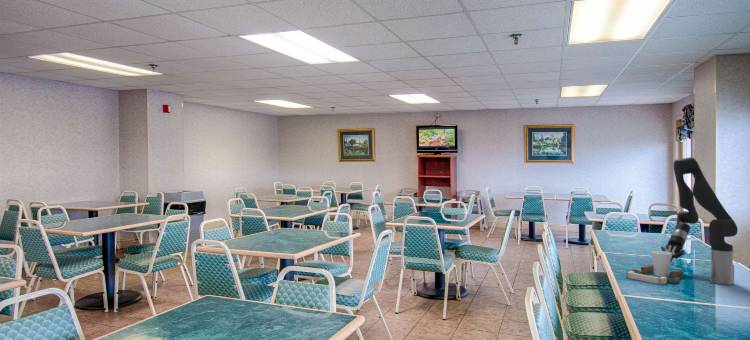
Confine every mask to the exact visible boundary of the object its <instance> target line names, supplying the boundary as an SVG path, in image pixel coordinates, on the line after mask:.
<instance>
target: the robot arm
mask: <svg viewBox="0 0 750 340" xmlns="http://www.w3.org/2000/svg"><path fill="white" fill-rule="evenodd" d="M673 172H674V176H675V181H676V184H677V188H678V197H679V207H680V208H681V209H683V210H680V211H679V212H677V215H676V224H675V227H674V230H673V231H672V233H671V235H670V238H669V240H668V241H667V242H668V243H667V244H666V245H665V246H664V247H663V246H660V249H661V251H664V252H670V253H672V258H671V262H670V264H671V263H672V262H673V259H674V260H675V259H676V260H677V259H678V258H681V257H682V256H684V255H686V251H685V250H684V245H685V244H686V242H687V239H688V235H689V233H690V230H691V226H690V225H689V224H691V225H695V224H697V223H698V222H699V219H700V218H699V213H698V211H697V209H696V205H695V201H694V199H695V200H696V202H697V203H698V205H699V206H701V207H702V208H703V209H704V210H705V211H707V212H709V213H710V215H712V216H714V218H715V219H712V220H711V221H710V222H709V224H708V237H709V238H708V239H709V244H710V282H711V283H714V284H719V285H727V286H730V285H733V284H735V264H734V262H733V261H734V256H733V255H734V247H733V245H732V244H730V243H728V242H726V241H725V238H729V237H734V236H737V234H738V226H737V223H736V221H735V220H734V219H733V218H732V217H731V215H730V214H729V212H727V210H726V209H725V207H724V206H723V204H722V203H721V201H720V200H719V198H718V196H717V195H716V193H715V192H714V190H713V188H712V187H711V186H710V184H709V182H708V180H707V179H706V177H705V175H704V172H703V171H702V169H701V167H700V165H699V162H698V161H697V160H696V158H694V157H684V158H677V159H675V160H674V161H673ZM689 174H691V175H692V177H693V178H694V182H693V183H694V184H693V187H692V189H691V188H690V187H689V185H688V184H687V182H686V181H685V178H684V175H689ZM733 264H734V265H733Z"/></svg>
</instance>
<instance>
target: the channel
mask: <svg viewBox="0 0 750 340" xmlns="http://www.w3.org/2000/svg"><path fill="white" fill-rule="evenodd" d="M640 271H643V275H648V274H653V273H654V266H653V264H647V265H643V266H641V267H640ZM669 276H672V277H678V278H680V279H682V278H683V269H676V270H673V271H672V270H671V271H669Z"/></svg>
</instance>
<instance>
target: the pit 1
mask: <svg viewBox="0 0 750 340" xmlns="http://www.w3.org/2000/svg"><path fill="white" fill-rule="evenodd" d="M629 271H635V273H637V274H642V275H643V271H641V269H640V270H638V269H634V268H632V269H628V270H627V272H629Z"/></svg>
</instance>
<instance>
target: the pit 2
mask: <svg viewBox="0 0 750 340" xmlns="http://www.w3.org/2000/svg"><path fill="white" fill-rule="evenodd" d="M666 277H667V283H666V284H673V285H676V284H680V279H681V278H678V277H672V276H670V275H668V276H666Z"/></svg>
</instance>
